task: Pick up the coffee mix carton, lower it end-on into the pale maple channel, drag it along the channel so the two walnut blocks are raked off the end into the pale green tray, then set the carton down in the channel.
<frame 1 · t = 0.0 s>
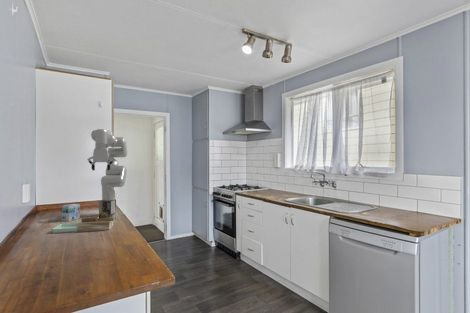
hand: (101, 170, 178), 37 cm above the counter, tool pointing down, fingers open, 9 cm apart
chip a: (93, 223, 161), point 3 cm above the counter, touching channel
channel: (96, 228, 161), on the counter
chip b: (85, 223, 160), point 3 cm above the counter, touching channel
tray: (68, 229, 157), on the counter
coffee box: (107, 223, 173), on the counter
light bulb box: (70, 219, 184), on the counter
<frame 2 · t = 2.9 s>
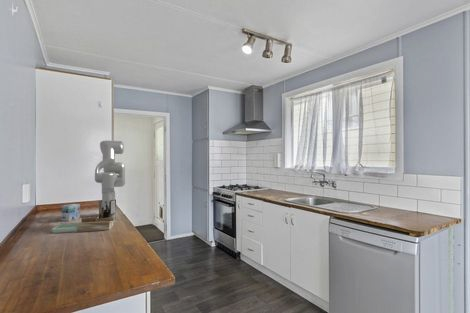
hand: (107, 215, 173), 5 cm above the counter, tool pointing down, fingers closed on coffee box, 7 cm apart
coffee box: (107, 223, 173), on the counter, touching gripper
everything else where it was.
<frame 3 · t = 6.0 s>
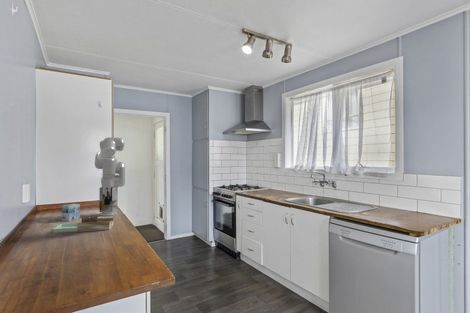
hand: (108, 203, 163), 16 cm above the counter, tool pointing down, fingers closed on coffee box, 7 cm apart
coffee box: (108, 211, 163), point 10 cm above the counter, touching gripper
everything else where it was.
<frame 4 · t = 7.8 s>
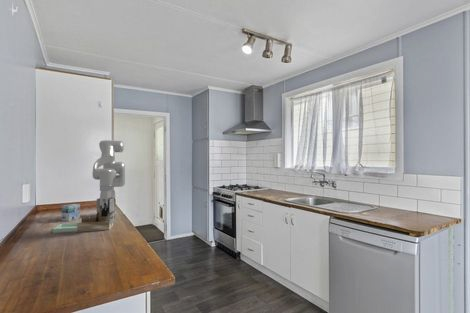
hand: (105, 214, 163), 8 cm above the counter, tool pointing down, fingers closed on coffee box, 7 cm apart
coffee box: (105, 222, 163), point 3 cm above the counter, touching gripper
everything else where it was.
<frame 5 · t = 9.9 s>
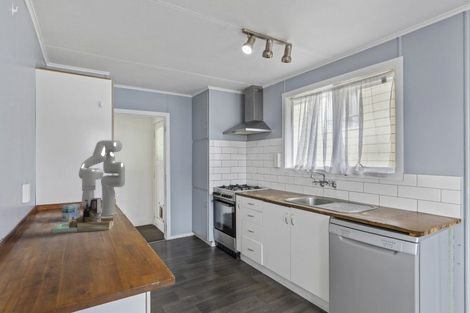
hand: (88, 215, 160), 8 cm above the counter, tool pointing down, fingers open, 7 cm apart
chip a: (80, 224, 159), point 3 cm above the counter, touching channel, chip b, coffee box
chip b: (77, 224, 159), point 3 cm above the counter, tilted 90°, touching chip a, tray
coffee box: (92, 223, 161), point 3 cm above the counter, touching channel, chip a, gripper
everything else where it was.
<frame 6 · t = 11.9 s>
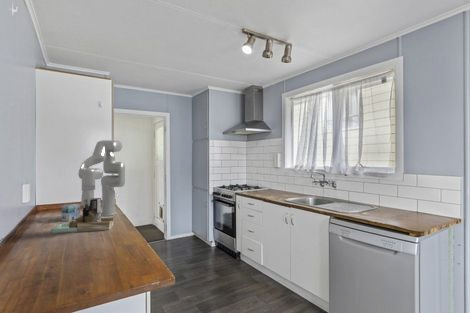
hand: (88, 214, 160), 9 cm above the counter, tool pointing down, fingers open, 9 cm apart
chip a: (80, 224, 159), point 3 cm above the counter, touching channel, chip b
coffee box: (92, 223, 161), point 3 cm above the counter, touching channel
everything else where it was.
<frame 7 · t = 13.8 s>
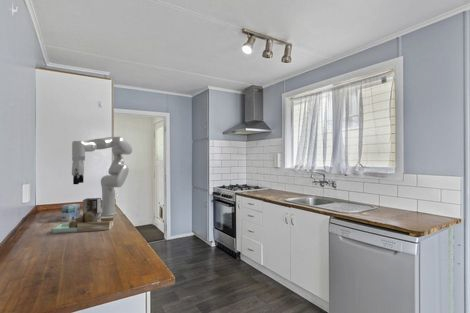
hand: (78, 183, 172), 28 cm above the counter, tool pointing down, fingers open, 9 cm apart
nothing on the counter moved.
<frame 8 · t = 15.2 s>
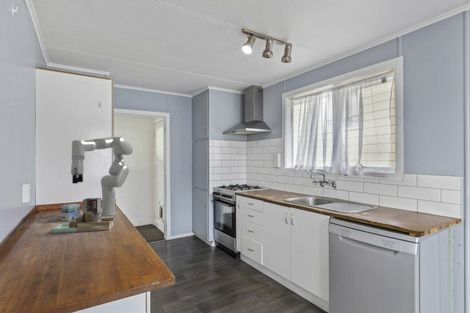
hand: (77, 182, 172), 28 cm above the counter, tool pointing down, fingers open, 9 cm apart
nothing on the counter moved.
at the end: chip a inside the target area on the tray (6.8 cm from its centre), point 3.0 cm above the tray's base; chip b inside the target area on the tray (4.8 cm from its centre), point 2.6 cm above the tray's base; the gripper is holding nothing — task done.
